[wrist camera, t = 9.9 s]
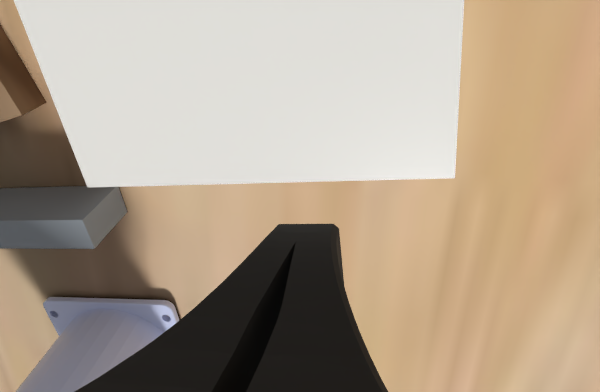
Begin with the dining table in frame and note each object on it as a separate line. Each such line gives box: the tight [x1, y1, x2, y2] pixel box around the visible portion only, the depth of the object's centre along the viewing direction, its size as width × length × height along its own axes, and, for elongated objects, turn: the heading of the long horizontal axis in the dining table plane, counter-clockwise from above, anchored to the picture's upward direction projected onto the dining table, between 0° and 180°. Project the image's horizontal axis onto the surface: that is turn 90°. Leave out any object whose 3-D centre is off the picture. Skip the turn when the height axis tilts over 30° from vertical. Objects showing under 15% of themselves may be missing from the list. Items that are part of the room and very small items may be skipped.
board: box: [14, 0, 464, 187], centre depth 16 cm, size 12×15×2 cm
